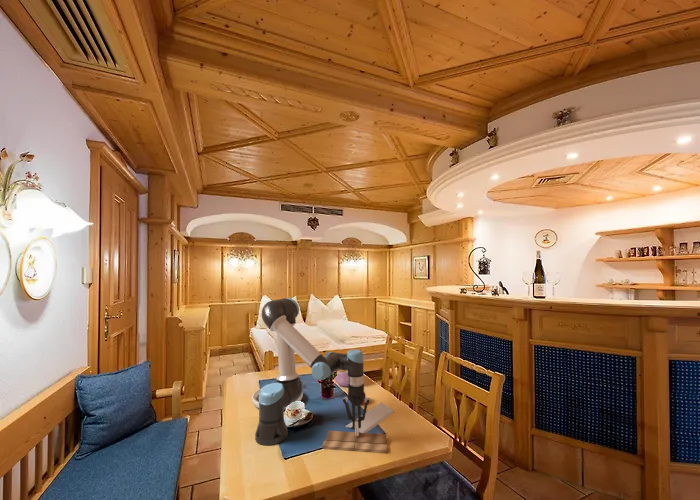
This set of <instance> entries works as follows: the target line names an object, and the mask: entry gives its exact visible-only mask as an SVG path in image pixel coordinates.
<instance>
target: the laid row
mask: <svg viewBox="0 0 700 500" xmlns="http://www.w3.org/2000/svg"><path fill="white" fill-rule="evenodd" d="M321 448H322V450H334V451H349V452H362V453H363V452H365V453H376V454H377V453H378V454H388V444H387V443H386V444H371V443H355V442H341V441H327V440H326V439H325V440H323V442H322V446H321Z"/></svg>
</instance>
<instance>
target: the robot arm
mask: <svg viewBox="0 0 700 500" xmlns="http://www.w3.org/2000/svg"><path fill="white" fill-rule="evenodd" d="M299 312H300V307H299V304H298V303H297V301H296V300H295V299H293V298H289V297H284V298H280V299H279V298H278V299H274V300H273V299H272V300H269V301H267V302H266V303H265V304H264V305H263V307H262V309H261V319H262V321H263V323H264V325H265V326H266V327H267V328H268V329H269V330H270V331H271V332H275V333H276V339H277V359H278V361H277V363H278V375H277V376H276V382H271V383H268V384H265V385H264V386H262V387H261V388H262V389H261V388H260V389H261V390H260V393H259V408H258V409H259V410H258V425H257V427H256V430H255V435H254V440H255V443H257V444H259V445H262V446H273V445H277V444H280V443H282V442H283V441H285V440H286V439H287V437H288V428H287V424H286V422H285V410H284V408H285V407H287V406H288V405H290V404H291V403H292V402H295V401H296V400H297V399H298V398H299V397H300V396H301V395H302V393H303V394H304V382H303V381H302V380H301V378H300V375H299V374H298V373H297V372H296V371H297V370H296V358H295V357H296V356H295V355H298V356H299V357H300V358H301V360H303V361H304V362H305V363H306V364H307V365H308V367H310V368H311V375H312V377H313V379H315V380H316V381H323V380H326V379H327V378H329V377H330V376H331V375H333V373H334V372H336V371H337V370H347V371H348V387H347V388H348V389H347V395H346V396H345V397H343V399H342V402H343V404H344V406H345V410H346V414H347V418H348V420H349V421H351V422H353V427H352V429H354V432H355V436H359V433H360V432H359V428H361V421H362V420H364V419H365V414H366V412H367V409H368V406H369V404H370V400H371V399H370V397H365V395H366V393H365V394H364V392H365V379H364V378H365V375H364V360H365V359H364V353H363V351H362V350H361V349H350V350H348V351H347V353H342V352H341V353H340V352H335V351H331V352H330V351H329V352H326V353H325V355H323V354H322V353H321V352H320V351H319V350H318V349H317V348H316V347H315V346H314V345H313V344H312V343H311V342H310V341H309V340H308V339H306V337H304V336H303V335H302V334H301V332H299V330H297V328H295V325H296V324H297V322H296V319H297V317H298V315H299V314H300V313H299ZM295 353H296V354H295ZM363 400H365V401H364V402H363ZM349 402H350V404H351V408H352V409H351V408H350V404H349ZM362 402H363V403H364V406H363V412H362V409H361V408H362V404H363V403H362ZM361 403H362V404H361ZM355 404H357V417H356V405H355ZM351 411H352V412H351ZM362 415H363V416H362ZM361 416H362V417H361ZM357 418H358V419H357Z"/></svg>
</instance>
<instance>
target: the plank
mask: <svg viewBox="0 0 700 500" xmlns="http://www.w3.org/2000/svg"><path fill="white" fill-rule="evenodd" d="M325 440H327V441H341V442H355V443H371V444H386V445H387V433H372V432H367V433H360V432H359V436H355V431H340V430H339V431H337V430H328V431H327V434H326V437H325Z"/></svg>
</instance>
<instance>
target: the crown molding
mask: <svg viewBox="0 0 700 500" xmlns="http://www.w3.org/2000/svg"><path fill="white" fill-rule="evenodd" d="M393 413H395V411H394V409H393V408H391V407H389V406H388V405H387V404H385V403H383V402H380V403H378V404H377V405H376V406H374V407H372V408H371V409H370V410H368V411H366V414H365V419H364V420H362V421H361V428H359V433H369V431H371V430H372V429H374V428H375V427H377V426H378V425H379V424H380V423H382V422H383V421H384V420H385V419H387V418H388V417H390V416H391V415H392V414H393ZM362 416H363V414H361V417H362ZM356 419H358V417H356ZM345 428H350V429H351V428H353V422H352V421H351V422H349V423H348V424H347V425H345Z"/></svg>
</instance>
